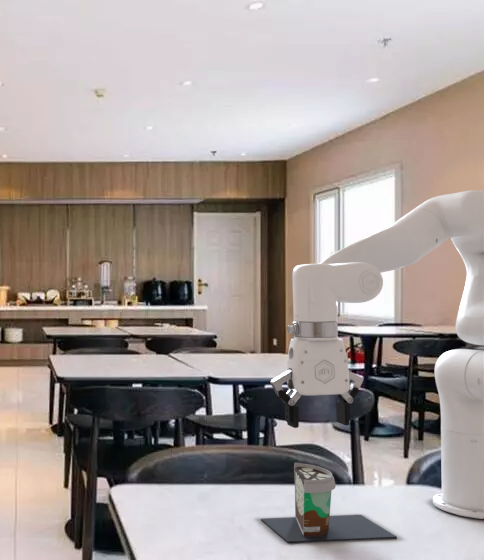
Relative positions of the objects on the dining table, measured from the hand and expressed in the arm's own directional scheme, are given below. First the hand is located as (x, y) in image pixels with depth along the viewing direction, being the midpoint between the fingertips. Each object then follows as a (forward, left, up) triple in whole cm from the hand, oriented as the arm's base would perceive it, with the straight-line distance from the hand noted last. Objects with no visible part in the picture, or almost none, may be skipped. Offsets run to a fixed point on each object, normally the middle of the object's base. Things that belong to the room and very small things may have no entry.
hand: (318, 425), depth 113 cm
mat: (-1, 0, -19) cm, 19 cm away
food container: (+1, 0, -19) cm, 19 cm away
